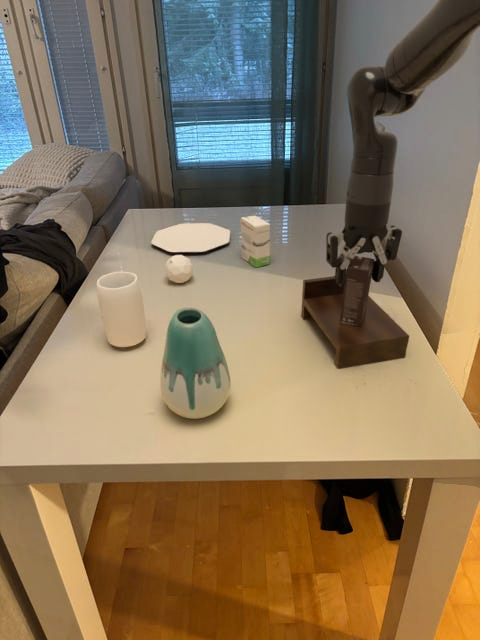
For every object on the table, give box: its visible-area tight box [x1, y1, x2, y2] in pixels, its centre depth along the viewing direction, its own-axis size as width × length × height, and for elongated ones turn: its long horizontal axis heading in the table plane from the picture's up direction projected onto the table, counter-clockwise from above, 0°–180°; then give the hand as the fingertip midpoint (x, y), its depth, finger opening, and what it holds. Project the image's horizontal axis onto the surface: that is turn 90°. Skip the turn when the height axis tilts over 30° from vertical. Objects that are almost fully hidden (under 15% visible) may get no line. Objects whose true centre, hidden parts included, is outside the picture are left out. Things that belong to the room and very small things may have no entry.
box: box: [340, 255, 375, 326], centre depth 90 cm, size 6×4×12 cm
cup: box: [96, 271, 147, 348], centre depth 93 cm, size 8×8×14 cm
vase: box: [159, 307, 231, 420], centre depth 75 cm, size 12×12×18 cm
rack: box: [300, 275, 410, 370], centre depth 95 cm, size 14×20×9 cm
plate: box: [150, 222, 231, 254], centre depth 144 cm, size 24×24×2 cm
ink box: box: [240, 215, 271, 268], centre depth 127 cm, size 9×5×12 cm, turn 27°
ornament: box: [164, 254, 194, 284], centre depth 118 cm, size 7×7×8 cm
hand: (358, 282), depth 89 cm, fingers closed on box, 6 cm apart
